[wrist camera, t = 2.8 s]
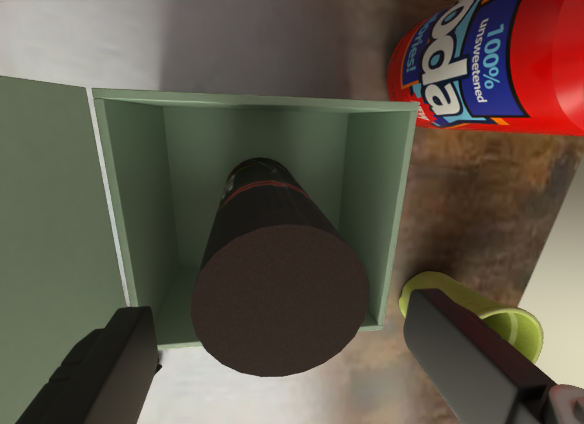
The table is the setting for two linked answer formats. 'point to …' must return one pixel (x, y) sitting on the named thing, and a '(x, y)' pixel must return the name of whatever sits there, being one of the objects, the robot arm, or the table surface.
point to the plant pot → (484, 312)
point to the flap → (49, 236)
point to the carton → (219, 164)
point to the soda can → (495, 67)
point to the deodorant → (275, 278)
